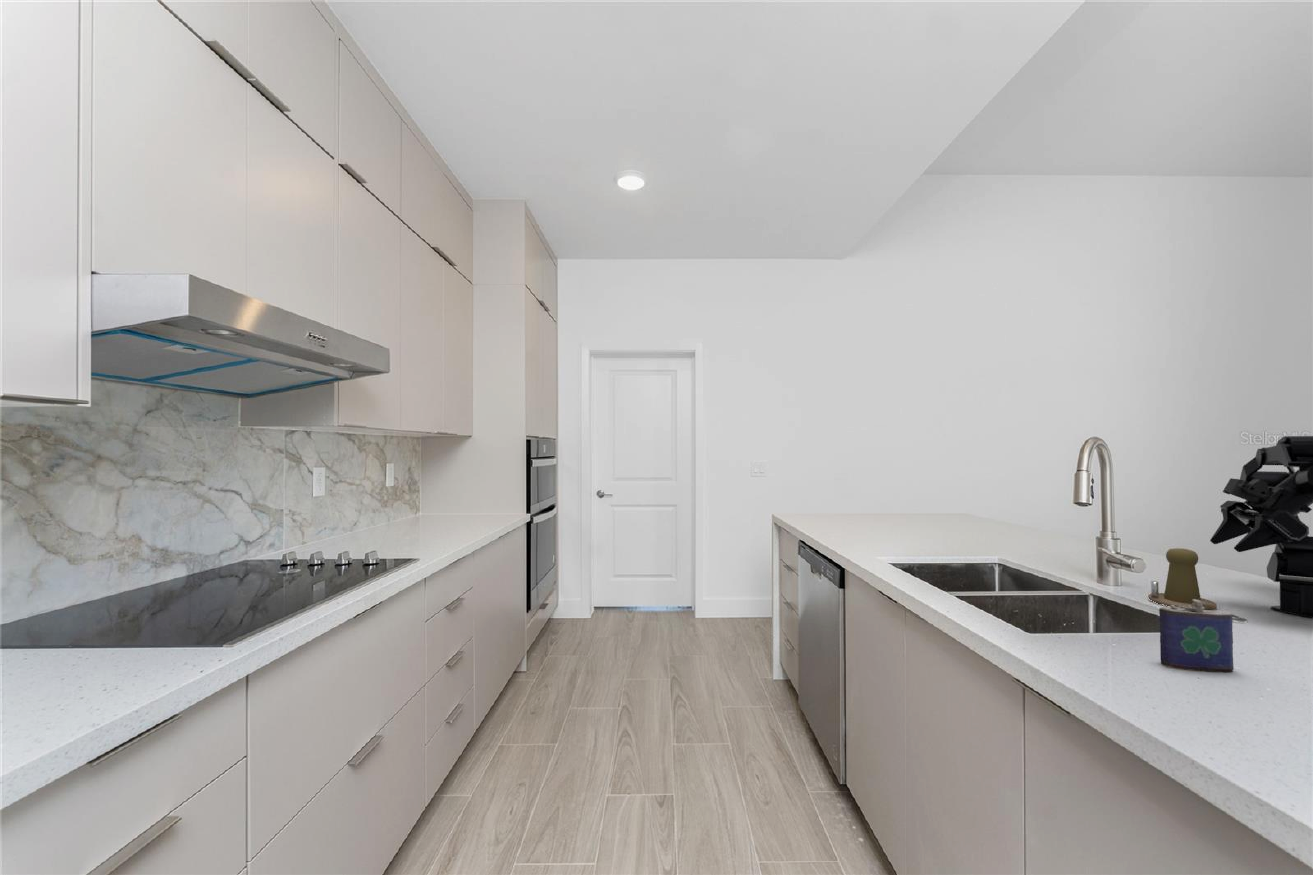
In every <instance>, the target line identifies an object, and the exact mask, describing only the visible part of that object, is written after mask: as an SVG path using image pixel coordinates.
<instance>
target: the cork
mask: <svg viewBox="0 0 1313 875" xmlns="http://www.w3.org/2000/svg"><path fill="white" fill-rule="evenodd" d="M1165 558H1166V561H1167V562H1168V563H1169V566H1168V571H1167V575H1166V576H1167V577H1166V582H1165V583H1166V584H1165V589H1164V593H1165V594H1164V598H1165V599H1167V600H1171V601H1175V602H1181V603H1189V604H1192V603H1193V599H1195V600H1200V601H1201V598H1202V597H1201V592H1200V588H1199V582H1198V576H1197V571H1196V565H1197V564H1198V563H1199V562H1198V561H1199V555H1198V553H1197V552H1195V551H1194V550H1191V549H1187V548H1178V547H1176V548H1170V549H1168V550H1167V551H1166V554H1165Z"/></svg>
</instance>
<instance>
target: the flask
mask: <svg viewBox="0 0 1313 875" xmlns="http://www.w3.org/2000/svg"><path fill="white" fill-rule="evenodd" d="M1203 604H1205V603H1203ZM1181 607H1182V608H1181ZM1184 608H1185V609H1184ZM1158 613H1159V634H1160V635H1159V643H1160V644H1159V645H1160V648H1159V649H1160V650H1159V652H1160V664H1161V665H1162V664H1163V665H1162V666H1164V667H1166V668H1167V667H1169V668H1173V669H1180V670H1189V671H1205V672H1215V673H1216V672H1217V673H1221V672H1222V673H1233V671H1234V646H1233V644H1234V636H1233V635H1234V633H1233V614H1232V613H1231V612H1229V611H1224V610H1219V609H1218V610H1217V609H1216V610H1204V607H1203V606H1202V602H1201V601H1200V600H1195V599H1193V603H1192V604H1191V605H1188V606H1187V607H1184V606H1180V607H1175V606H1174V605H1171V607H1167V606H1164V607H1163V606H1161V607H1160V608H1159V609H1158Z"/></svg>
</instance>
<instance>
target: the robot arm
mask: <svg viewBox="0 0 1313 875" xmlns="http://www.w3.org/2000/svg"><path fill="white" fill-rule="evenodd" d="M1263 466H1283V467H1284V468H1286V469H1287V470H1288V471H1262V470H1261V469H1262V468H1263ZM1295 468H1298V469H1297V470H1296V471H1295ZM1259 470H1261V471H1259ZM1222 493H1224V494H1226V495H1231V496H1234V497H1238V498H1240V499H1243V500H1245V501H1240V500H1239V501H1238V500H1226V501H1225V502H1224V503H1223V504H1221V505H1220V506H1219V508H1220V513H1221V514H1222V518H1223V519H1222V521H1221V523H1220V525H1219V526H1218V527H1217V529H1216V531H1215V532H1214V534H1213V535H1212V537H1211V538H1210V539H1209V540H1210V541H1209V542H1211V543H1212V544H1213V545H1218V544H1221V543H1224V542H1226V541H1230V540H1233V539H1235V538H1238V537H1241V536H1244V535H1245V536H1244V537H1242V538H1241V540H1239V541H1238V543H1237V544H1236V545H1235V546H1234V547H1233V549H1234V550H1235V551H1236V552H1238V553H1243V552H1246V551H1251V550H1255V549H1259V548H1264V547H1268V546H1273V545H1275V547H1274V551H1273V552H1272V553H1271V556H1270V557H1269V558H1270V559H1269V561H1268V564H1267V566H1266V575H1267V576H1266V577H1267V578H1268V579H1269V580H1271V581H1273V582H1274V583H1279V605H1273V606H1270V610H1274V611H1278V612H1284V613H1288V614H1292V615H1296V616H1302V617H1306V618H1311V619H1312V618H1313V536H1310V535H1309V534H1310V528H1309V526H1308V525H1306V524H1305V523H1304V522H1303V521H1301V519H1300V517H1299V516H1298V515H1299V514H1300V513H1306V514H1308V513H1309V512H1311V511H1312V510H1313V509H1312V508H1311V507H1310V506H1312V504H1313V435H1292V436H1291V435H1287V436H1286V435H1285V436H1282V437H1281V438H1280V439H1279V440H1277V442H1276V444H1275V445H1271V446H1270V447H1261V448H1257V450H1256V454H1255V457H1254V458H1252V459H1251V460H1249V461H1248V462H1247V463H1245V464H1244V465H1242V468H1241V472H1240V477H1239V478H1233V477H1232V478H1229V480H1228V481H1227V483H1226V485H1225V486H1224V489H1223V490H1222Z"/></svg>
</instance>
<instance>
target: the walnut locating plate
mask: <svg viewBox="0 0 1313 875" xmlns="http://www.w3.org/2000/svg"><path fill="white" fill-rule="evenodd" d="M1150 584H1151V589H1150V592H1151V593H1149V594H1148V595H1147V596H1148V597H1147V598H1149V599H1150V600H1152V601H1154V602H1156V603H1158V604H1157V605H1159V604H1164V605H1167V606H1170V607H1171V605H1174V606H1175V607H1180V606H1184V607H1187V606H1188V605H1191V604H1189V603H1181V602H1175V601H1171V600H1167V599H1165V598H1164V594H1165V592H1159V581H1156V580H1152V581H1151V582H1150ZM1201 602H1202V606H1203V607H1204V610H1212V611H1213V610H1214V609H1216V610H1217V609H1218V608H1217V607H1218V606H1217V605H1218V604H1217V603H1216V602H1214V601H1212V600H1209V599H1206V598H1203V597H1201ZM1156 603H1155V604H1156ZM1203 603H1205V604H1203ZM1167 606H1166V607H1167ZM1181 608H1182V607H1181ZM1184 609H1185V608H1184Z"/></svg>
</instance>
